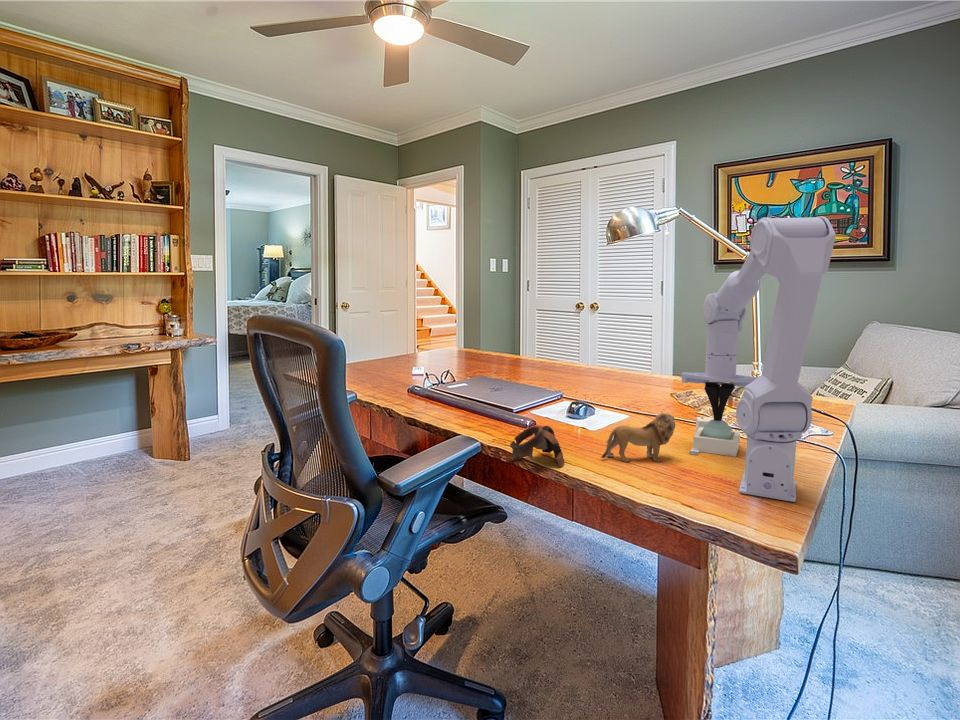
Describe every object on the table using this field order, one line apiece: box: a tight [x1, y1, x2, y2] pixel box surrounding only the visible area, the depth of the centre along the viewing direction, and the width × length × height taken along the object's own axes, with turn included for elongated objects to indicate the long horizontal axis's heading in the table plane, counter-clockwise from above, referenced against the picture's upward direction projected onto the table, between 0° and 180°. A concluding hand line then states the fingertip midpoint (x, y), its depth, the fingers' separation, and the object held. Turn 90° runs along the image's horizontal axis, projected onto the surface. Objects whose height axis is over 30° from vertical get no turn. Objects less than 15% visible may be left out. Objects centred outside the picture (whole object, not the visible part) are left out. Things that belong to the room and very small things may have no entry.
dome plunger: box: [703, 419, 732, 440], centre depth 108 cm, size 5×5×5 cm
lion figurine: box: [600, 412, 676, 463], centre depth 102 cm, size 15×5×9 cm, turn 96°
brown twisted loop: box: [509, 425, 565, 468], centre depth 102 cm, size 12×10×8 cm
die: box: [695, 416, 714, 433], centre depth 116 cm, size 4×4×4 cm
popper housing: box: [692, 427, 741, 457], centre depth 108 cm, size 8×8×3 cm
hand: (717, 419), depth 107 cm, fingers closed, pressing on dome plunger
